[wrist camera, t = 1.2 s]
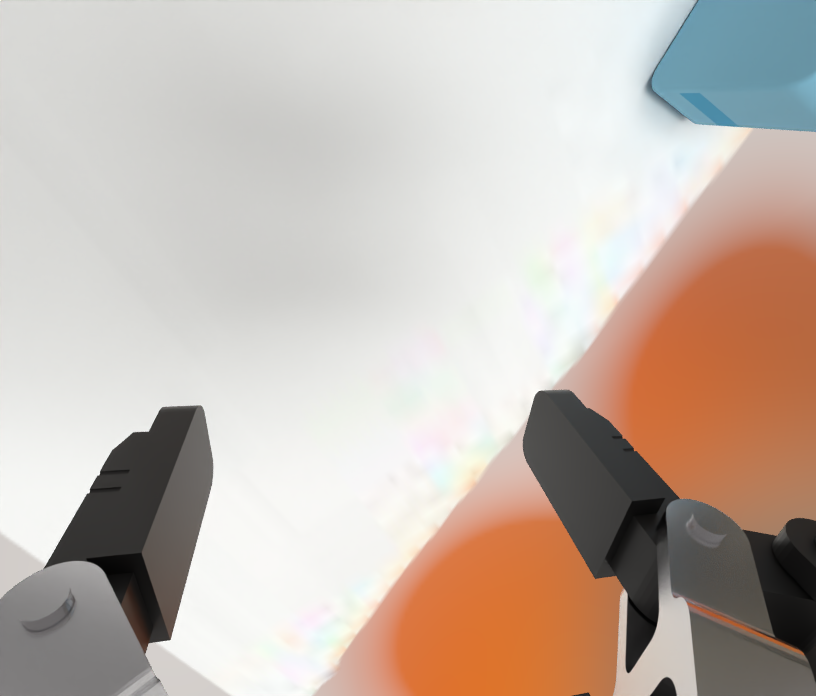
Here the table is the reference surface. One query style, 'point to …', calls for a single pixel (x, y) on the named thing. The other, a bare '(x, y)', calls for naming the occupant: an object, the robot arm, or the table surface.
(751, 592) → the robot arm
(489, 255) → the table surface
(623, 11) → the table surface
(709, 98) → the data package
